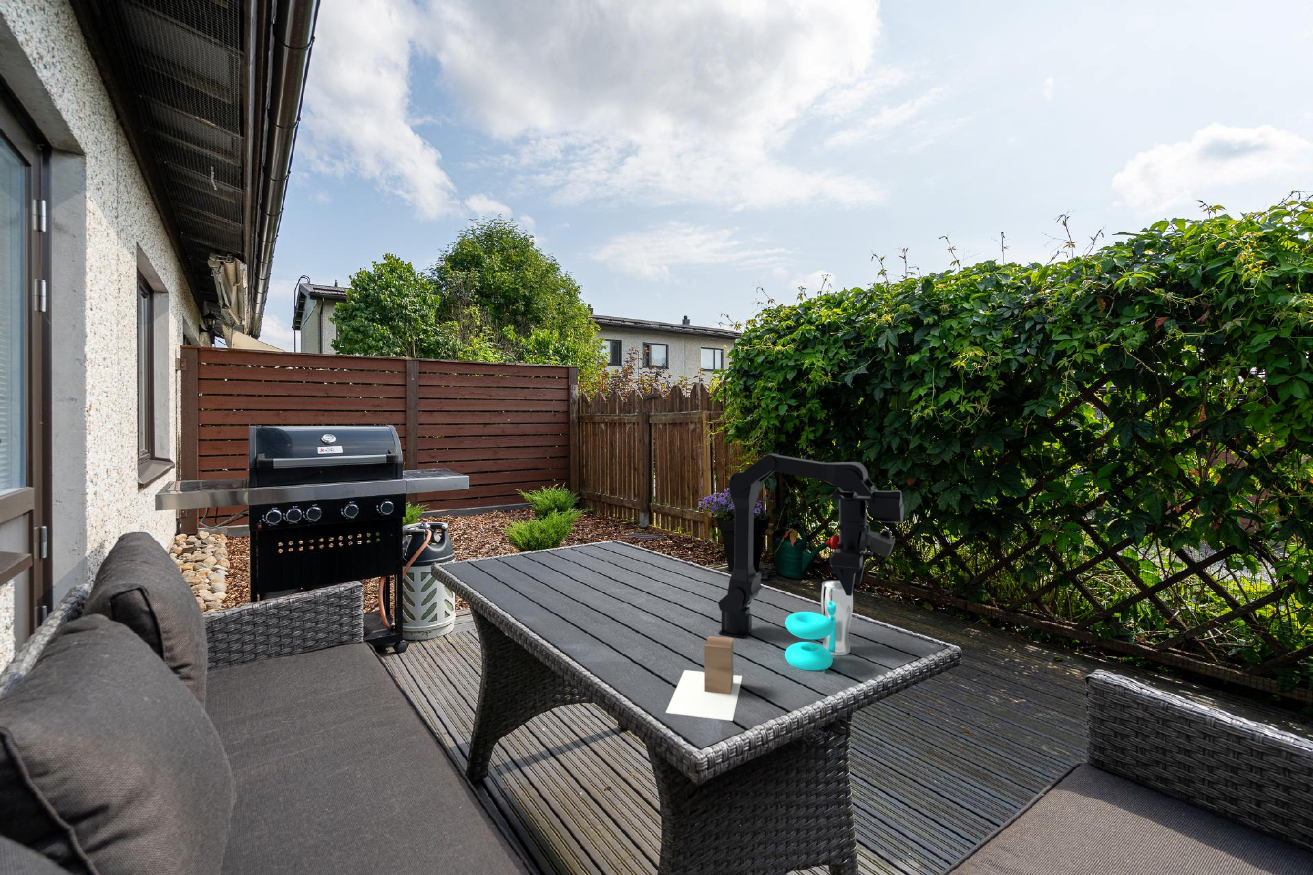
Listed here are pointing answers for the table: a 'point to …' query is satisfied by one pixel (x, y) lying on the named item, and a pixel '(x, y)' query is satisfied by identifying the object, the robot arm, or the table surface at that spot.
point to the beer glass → (837, 616)
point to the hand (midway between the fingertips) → (853, 589)
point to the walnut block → (718, 665)
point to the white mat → (703, 698)
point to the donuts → (807, 652)
